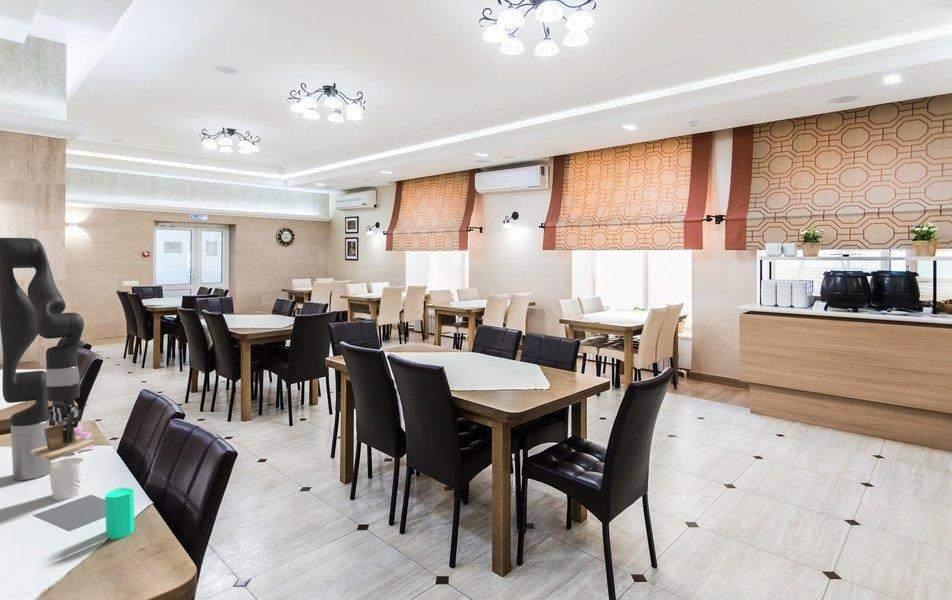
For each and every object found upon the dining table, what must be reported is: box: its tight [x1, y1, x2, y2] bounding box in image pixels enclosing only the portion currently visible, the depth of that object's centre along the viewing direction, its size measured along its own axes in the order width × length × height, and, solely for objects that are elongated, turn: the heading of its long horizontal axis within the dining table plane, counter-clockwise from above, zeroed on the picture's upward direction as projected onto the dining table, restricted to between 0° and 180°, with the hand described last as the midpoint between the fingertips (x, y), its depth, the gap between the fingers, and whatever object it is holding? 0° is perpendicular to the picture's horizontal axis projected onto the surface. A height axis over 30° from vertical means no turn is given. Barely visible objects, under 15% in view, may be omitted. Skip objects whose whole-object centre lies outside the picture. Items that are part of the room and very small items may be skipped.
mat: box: [32, 494, 106, 532], centre depth 140 cm, size 18×14×1 cm
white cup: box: [49, 457, 85, 501], centre depth 150 cm, size 8×8×10 cm
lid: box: [30, 422, 96, 462], centre depth 148 cm, size 11×11×7 cm
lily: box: [72, 422, 95, 454], centre depth 185 cm, size 12×12×10 cm
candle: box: [104, 486, 135, 540], centre depth 130 cm, size 6×6×12 cm
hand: (65, 441), depth 149 cm, fingers closed on lid, 2 cm apart
